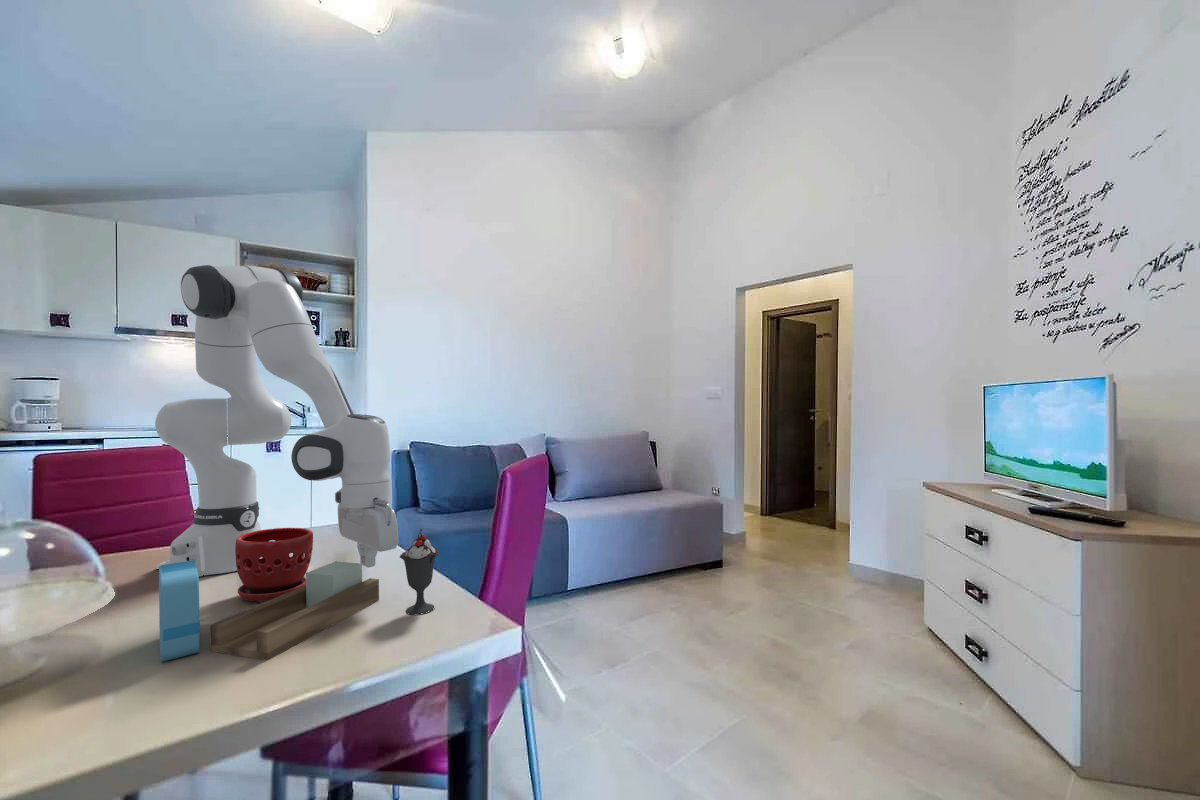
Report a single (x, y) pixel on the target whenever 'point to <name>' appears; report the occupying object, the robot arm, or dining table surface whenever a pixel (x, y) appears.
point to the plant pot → (272, 562)
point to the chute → (287, 621)
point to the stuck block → (331, 580)
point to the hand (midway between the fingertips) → (368, 565)
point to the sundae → (419, 571)
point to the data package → (179, 610)
